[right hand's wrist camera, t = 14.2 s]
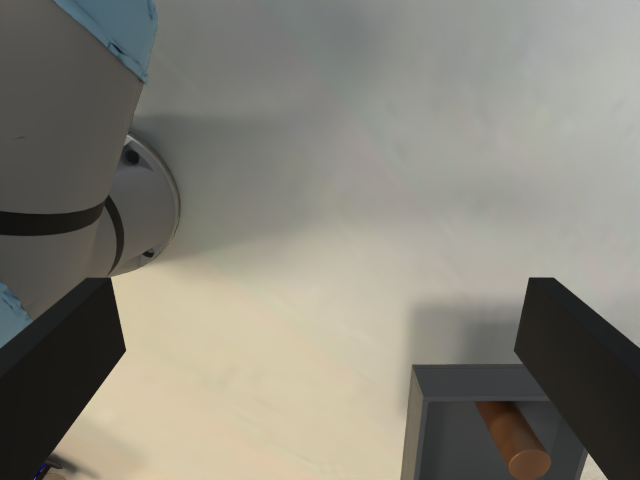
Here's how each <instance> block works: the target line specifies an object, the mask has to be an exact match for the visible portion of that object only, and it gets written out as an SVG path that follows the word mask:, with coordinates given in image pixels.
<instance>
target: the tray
mask: <svg viewBox="0 0 640 480" xmlns="http://www.w3.org/2000/svg"><path fill="white" fill-rule="evenodd" d="M475 401H515V403H516V404H517V406H518V408H519V409H520V411H521V412H522V414H523V415H524V417H525V419H526V420H527V422H528V423H529V425H530V426H531V428H532V430H533V431H534V433H535V434H536V436H537V437H538V439H539V441H540V442H541V444H542V445H543V447H544V448H545V450H546V452H547V453H548V455H549V456H550V459H551V465H550V467H549V469H548V471H547V472H546V473H545V474H543V475H542V476H540V477H538V478H536V479H532V480H580V477H581V474H582V471H583V467H584V464H585V461H586V458H587V455H588V451H587V450H586V449H585V447H584V446H583V445H582V443H581V442H580V441H579V439H578V438H577V436H576V435H575V434H574V432H573V431H572V430H571V428H570V427H569V426H568V424H567V423H566V421H565V420H564V419H563V417H562V416H561V415H560V413H559V412H558V410H557V409H556V408H555V406H554V405H553V404H552V402H551V401H550V400H549V398H548V397H547V395H546V394H545V393H544V391H543V390H542V389H541V387H540V386H539V384H538V383H537V382H536V380H535V379H534V378H533V376H532V375H531V374H530V372H529V371H528V369H527V368H526V367H525V365H524V364H452V365H412V371H411V381H410V390H409V400H408V410H407V420H406V430H405V440H404V450H403V460H402V470H401V480H520V479H517V478H515V477H513V476H512V475H511V474H510V472H509V470H508V468H507V466H506V464H505V462H504V460H503V458H502V456H501V454H500V452H499V450H498V448H497V446H496V444H495V442H494V440H493V438H492V436H491V434H490V432H489V430H488V428H487V427H486V425H485V423H484V421H483V419H482V417H481V415H480V413H479V411H478V409H477V407H476V404H475Z"/></svg>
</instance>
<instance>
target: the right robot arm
mask: <svg viewBox="0 0 640 480" xmlns="http://www.w3.org/2000/svg"><path fill="white" fill-rule="evenodd" d="M157 27H158V14H157V10H156V6H155V4H154V2H153V0H0V480H32V479H33V477H34V476H35V475H36V473H37V472H38V471H39V469H40V468H41V467H42V465H43V464H44V462H45V461H46V460H47V458H48V457H49V456H50V454H51V453H52V451H53V450H54V449H55V447H56V446H57V445H58V443H59V442H60V441H61V439H62V438H63V436H64V435H65V434H66V432H67V431H68V430H69V428H70V427H71V426H72V424H73V423H74V421H75V420H76V419H77V417H78V416H79V415H80V413H81V412H82V410H83V409H84V408H85V406H86V405H87V404H88V402H89V401H90V400H91V398H92V397H93V395H94V394H95V393H96V391H97V390H98V389H99V387H100V386H101V384H102V383H103V382H104V380H105V379H106V378H107V376H108V375H109V374H110V372H111V371H112V369H113V368H114V367H115V365H116V364H117V363H118V361H119V360H120V358H121V357H122V356H123V354H124V353H125V352H126V348H125V343H124V338H123V333H122V329H121V324H120V319H119V314H118V309H117V305H116V300H115V295H114V290H113V286H112V281H111V278H109V277H112V276H116V275H120V274H123V273H127V272H130V271H133V270H136V269H138V268H140V267H142V266H144V265H145V264H147V263H149V262H150V261H152V260H153V259H154V258H156V257H157V256H158V255H159V254H160V253H161V252H162V251H163V250H164V249H165V247H166V246H167V245H168V244H169V242H170V241H171V239H172V237H173V235H174V233H175V231H176V228H177V225H178V221H179V214H180V204H179V196H178V191H177V188H176V184H175V182H174V179H173V177H172V175H171V173H170V171H169V169H168V168H167V166H166V164H165V163H164V162H163V160H162V159H161V158H160V157H159V155H158V154H157V153H156V152H155V151H154V150H153V149H152V148H151V147H150V146H149V145H148V144H146V143H145V142H144V141H143V140H141V139H140V138H138V137H137V136H135V135H133V134H132V133H130V132H128V131H129V128H130V125H131V122H132V119H133V115H134V112H135V109H136V106H137V103H138V100H139V97H140V94H141V91H142V87H143V84H147V82H148V74H147V72H146V71H147V67H148V63H149V59H150V55H151V51H152V47H153V43H154V39H155V36H156V32H157ZM514 352H515V353H516V354H517V356H518V357H519V358H520V360H521V361H522V363H523V364H524V365H525V367H526V368H527V369H528V371H529V372H530V374H531V375H532V376H533V378H534V379H535V380H536V382H537V383H538V384H539V386H540V387H541V389H542V390H543V391H544V393H545V394H546V395H547V397H548V398H549V400H550V401H551V402H552V404H553V405H554V406H555V408H556V409H557V410H558V412H559V413H560V415H561V416H562V417H563V419H564V420H565V421H566V423H567V424H568V426H569V427H570V428H571V430H572V431H573V432H574V434H575V435H576V436H577V438H578V439H579V441H580V442H581V443H582V445H583V446H584V447H585V449H586V450H587V451H588V453H589V454H590V456H591V457H592V458H593V460H594V461H595V462H596V464H597V465H598V467H599V468H600V469H601V471H602V472H603V473H604V475H605V476H606V477H607V479H608V480H640V348H639V347H638V346H636V345H635V344H634V343H633V342H631V341H630V340H629V339H628V338H627V337H625V336H624V335H623V334H622V333H621V332H619V331H618V330H617V329H616V328H614V327H613V326H612V325H611V324H610V323H608V322H607V321H606V320H605V319H603V318H602V317H601V316H600V315H599V314H597V313H596V312H595V311H594V310H593V309H591V308H590V307H589V306H588V305H586V304H585V303H584V302H583V301H582V300H580V299H579V298H578V297H577V296H575V295H574V294H573V293H572V292H571V291H569V290H568V289H567V288H566V287H565V286H563V285H562V284H561V283H560V282H558V281H557V280H556V279H555V278H529V281H528V286H527V290H526V295H525V300H524V305H523V309H522V314H521V319H520V324H519V329H518V333H517V338H516V343H515V348H514Z"/></svg>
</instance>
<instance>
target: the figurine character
mask: <svg viewBox="0 0 640 480" xmlns="http://www.w3.org/2000/svg"><path fill="white" fill-rule="evenodd" d="M45 465H46V466H45ZM44 466H45V468H44ZM51 467H54V468H56V469H63V468H62V467H61V465H59V464H56V463H53V462H51V461H48V460H46V461H45V462H44V464H43V465H42V467H41V468H40V469H39V471H38V472H37V473H36V475H35V476H34V477H33V479H32V480H34V479H35V478H36V479H35V480H65V478H64V477H62V476H61V475H59V474H55V473H51V474H46V473H47V472H48V471H49V469H50V468H51ZM43 468H44V469H43ZM42 469H43V470H42ZM41 470H42V471H41ZM40 471H41V472H40Z"/></svg>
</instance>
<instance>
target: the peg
mask: <svg viewBox="0 0 640 480" xmlns="http://www.w3.org/2000/svg"><path fill="white" fill-rule="evenodd" d="M475 404H476V407H477V409H478V411H479V413H480V415H481V417H482V419H483V421H484V423H485V425H486V427H487V428H488V430H489V432H490V434H491V436H492V438H493V440H494V442H495V444H496V446H497V448H498V450H499V452H500V454H501V456H502V458H503V460H504V462H505V464H506V466H507V468H508V470H509V472H510V474H511V475H512V476H513V477H515V478H517V479H520V480H532V479H536V478H538V477H540V476H542V475H543V474H545V473H546V472H547V471H548V469H549V467H550V465H551V459H550V456H549V455H548V453H547V452H546V450H545V448H544V447H543V445H542V444H541V442H540V441H539V439H538V437H537V436H536V434H535V433H534V431H533V430H532V428H531V426H530V425H529V423H528V422H527V420H526V419H525V417H524V415H523V414H522V412H521V411H520V409H519V408H518V406H517V404H516V403H515V401H475Z"/></svg>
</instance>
